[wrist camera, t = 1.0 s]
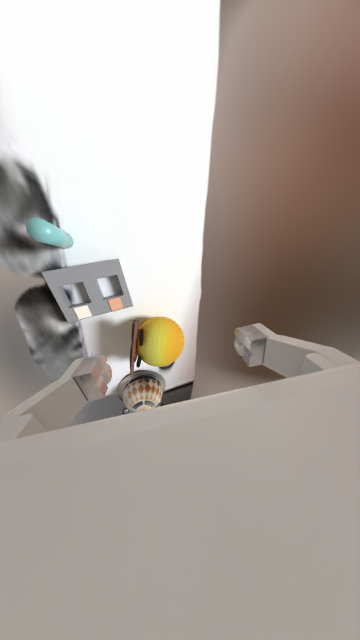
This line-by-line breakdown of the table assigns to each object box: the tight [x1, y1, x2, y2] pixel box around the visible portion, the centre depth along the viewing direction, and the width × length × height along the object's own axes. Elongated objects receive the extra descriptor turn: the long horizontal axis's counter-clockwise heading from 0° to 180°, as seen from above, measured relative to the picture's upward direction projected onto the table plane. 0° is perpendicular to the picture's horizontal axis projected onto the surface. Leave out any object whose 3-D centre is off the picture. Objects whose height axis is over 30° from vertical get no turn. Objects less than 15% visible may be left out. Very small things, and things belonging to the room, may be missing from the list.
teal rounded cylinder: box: [26, 218, 73, 248], centre depth 30 cm, size 4×4×12 cm
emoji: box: [130, 317, 184, 374], centre depth 45 cm, size 16×16×15 cm
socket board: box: [41, 259, 133, 323], centre depth 39 cm, size 13×17×3 cm
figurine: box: [118, 371, 165, 415], centre depth 50 cm, size 18×18×20 cm
